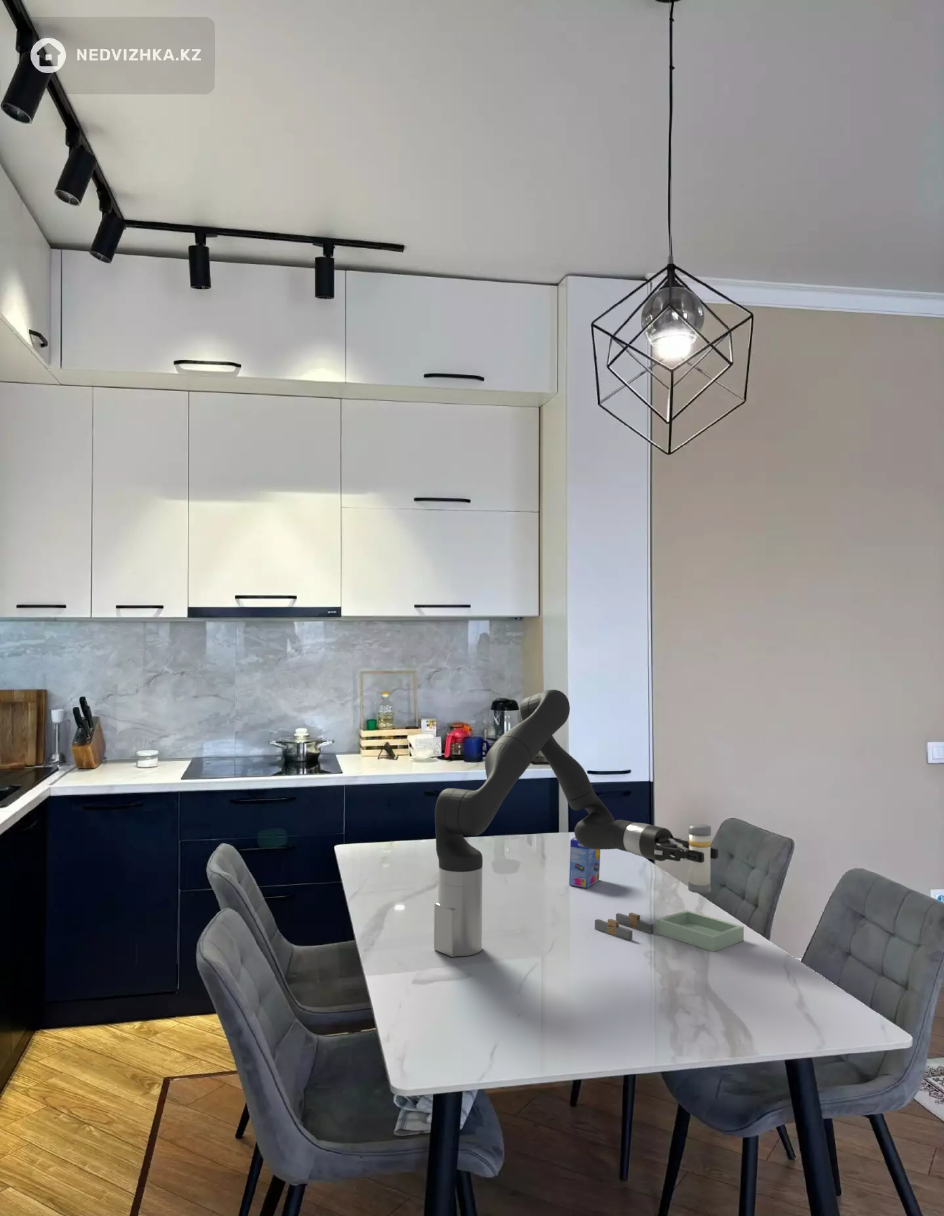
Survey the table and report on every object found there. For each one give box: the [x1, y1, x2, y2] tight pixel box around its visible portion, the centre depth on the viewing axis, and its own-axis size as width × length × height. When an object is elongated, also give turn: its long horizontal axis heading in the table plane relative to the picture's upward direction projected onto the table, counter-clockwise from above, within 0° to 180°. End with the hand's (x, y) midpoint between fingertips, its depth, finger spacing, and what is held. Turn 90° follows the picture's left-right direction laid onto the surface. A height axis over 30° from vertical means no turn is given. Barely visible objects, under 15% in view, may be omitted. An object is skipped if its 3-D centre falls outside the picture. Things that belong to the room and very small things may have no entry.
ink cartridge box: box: [568, 836, 601, 889], centre depth 243 cm, size 10×6×14 cm, turn 152°
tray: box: [655, 909, 745, 953], centre depth 200 cm, size 11×15×3 cm
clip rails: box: [594, 912, 654, 941], centre depth 204 cm, size 8×10×3 cm
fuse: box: [687, 823, 712, 894], centre depth 201 cm, size 5×5×14 cm
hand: (710, 856), depth 199 cm, fingers closed on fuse, 4 cm apart
